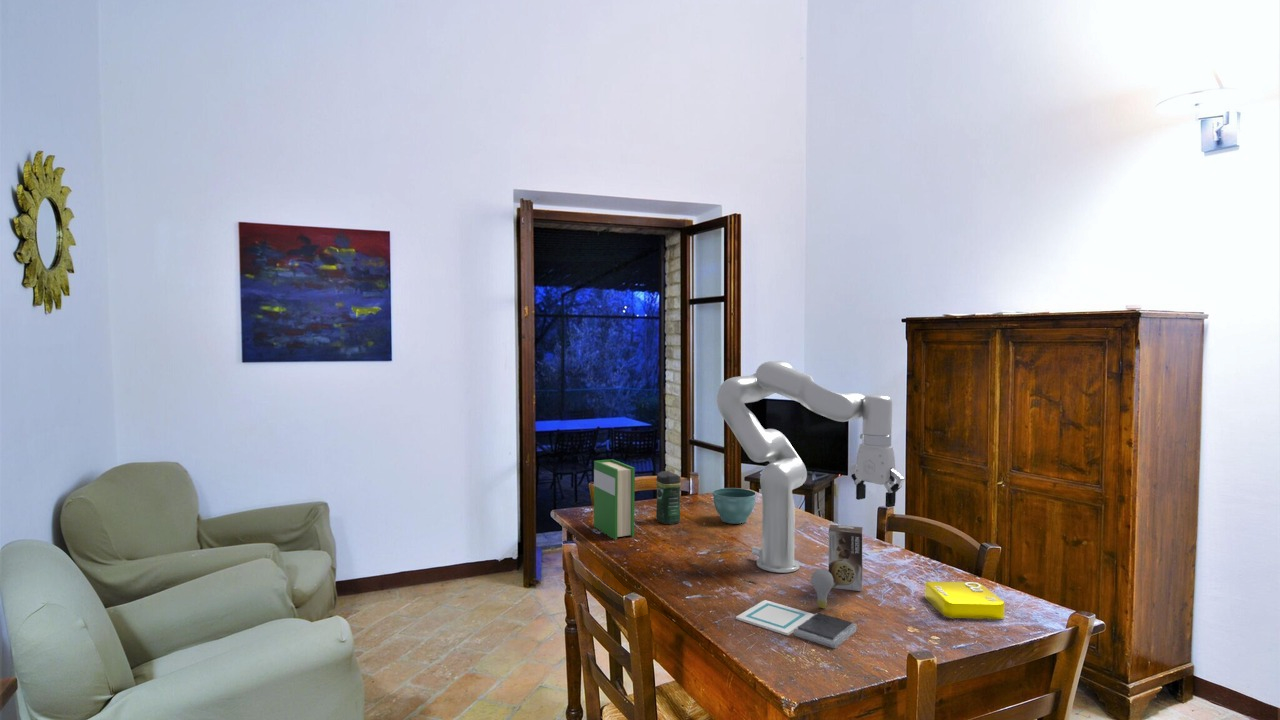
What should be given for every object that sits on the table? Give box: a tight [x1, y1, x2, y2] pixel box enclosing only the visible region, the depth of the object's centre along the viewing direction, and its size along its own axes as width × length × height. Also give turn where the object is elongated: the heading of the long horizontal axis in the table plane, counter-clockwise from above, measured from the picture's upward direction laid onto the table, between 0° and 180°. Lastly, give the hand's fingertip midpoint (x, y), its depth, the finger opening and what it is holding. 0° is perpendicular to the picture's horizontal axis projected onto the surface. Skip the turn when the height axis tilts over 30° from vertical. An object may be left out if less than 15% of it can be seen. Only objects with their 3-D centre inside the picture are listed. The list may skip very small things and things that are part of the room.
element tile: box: [924, 581, 1006, 620], centre depth 173 cm, size 15×15×5 cm
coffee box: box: [828, 524, 864, 592], centre depth 187 cm, size 9×6×16 cm
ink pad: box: [793, 612, 858, 649], centre depth 157 cm, size 10×12×2 cm
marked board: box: [735, 599, 816, 636], centre depth 165 cm, size 14×14×1 cm
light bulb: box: [811, 568, 833, 610], centre depth 171 cm, size 6×5×10 cm
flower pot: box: [712, 487, 757, 525], centre depth 253 cm, size 16×16×11 cm
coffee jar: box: [655, 470, 682, 525], centre depth 251 cm, size 10×8×19 cm
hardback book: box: [593, 459, 636, 541], centre depth 238 cm, size 18×7×24 cm, turn 28°
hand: (875, 502), depth 185 cm, fingers open, 9 cm apart
